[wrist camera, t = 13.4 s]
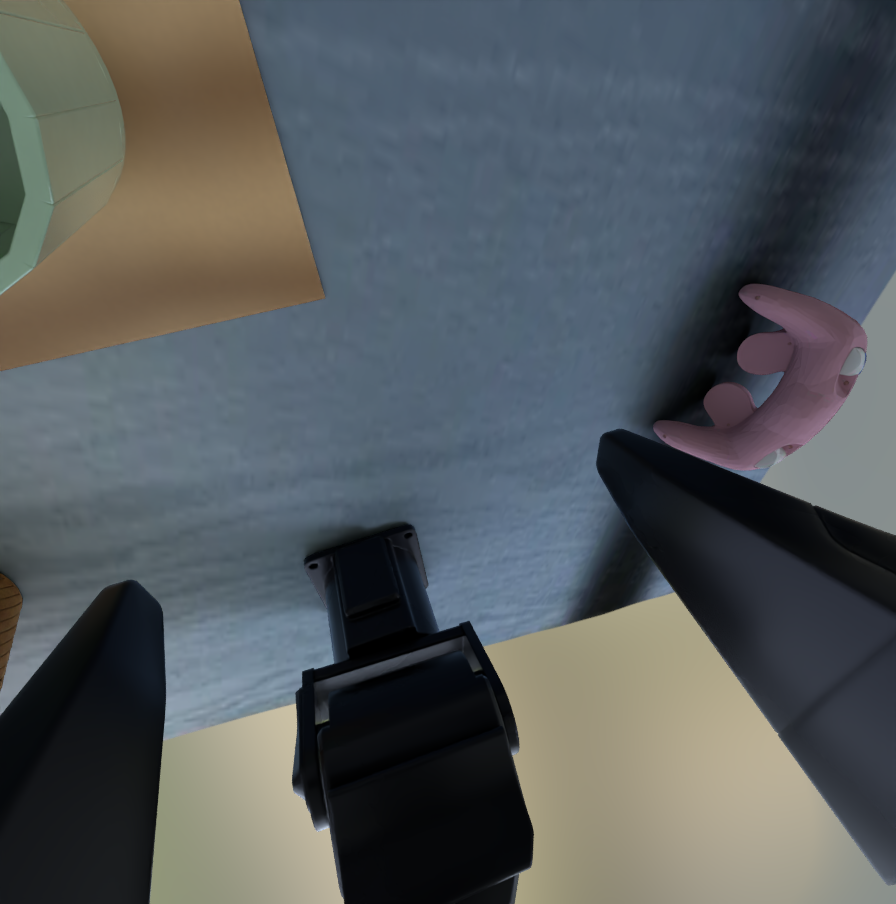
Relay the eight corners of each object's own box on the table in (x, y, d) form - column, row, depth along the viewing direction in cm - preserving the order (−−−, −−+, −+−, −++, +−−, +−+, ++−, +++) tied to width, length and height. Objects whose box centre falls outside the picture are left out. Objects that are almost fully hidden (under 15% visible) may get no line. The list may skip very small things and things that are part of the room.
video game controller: (666, 421, 31) (771, 482, 27) (642, 436, 27) (757, 507, 24) (762, 276, 25) (907, 331, 22) (746, 273, 22) (912, 337, 19)
